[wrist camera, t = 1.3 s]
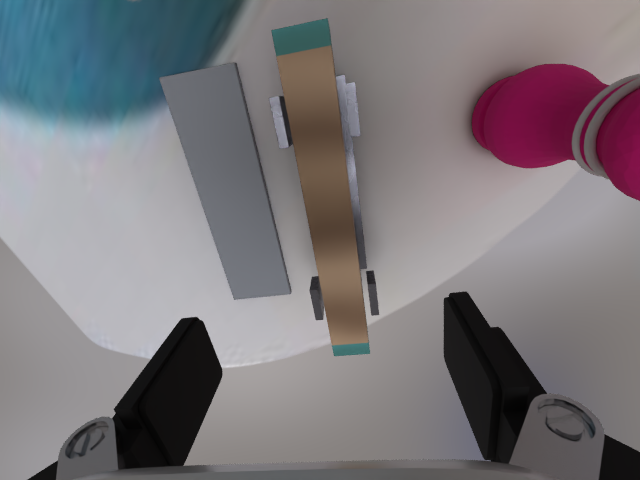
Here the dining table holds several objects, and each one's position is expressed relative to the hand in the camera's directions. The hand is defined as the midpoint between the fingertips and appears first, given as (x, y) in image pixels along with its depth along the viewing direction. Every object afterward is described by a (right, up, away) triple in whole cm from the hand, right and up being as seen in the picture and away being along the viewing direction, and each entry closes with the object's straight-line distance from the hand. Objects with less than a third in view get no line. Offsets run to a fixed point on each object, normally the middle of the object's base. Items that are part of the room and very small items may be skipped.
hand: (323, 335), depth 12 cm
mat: (-9, +8, +20) cm, 23 cm away
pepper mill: (+16, +15, +15) cm, 27 cm away
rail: (+1, +6, +12) cm, 13 cm away
